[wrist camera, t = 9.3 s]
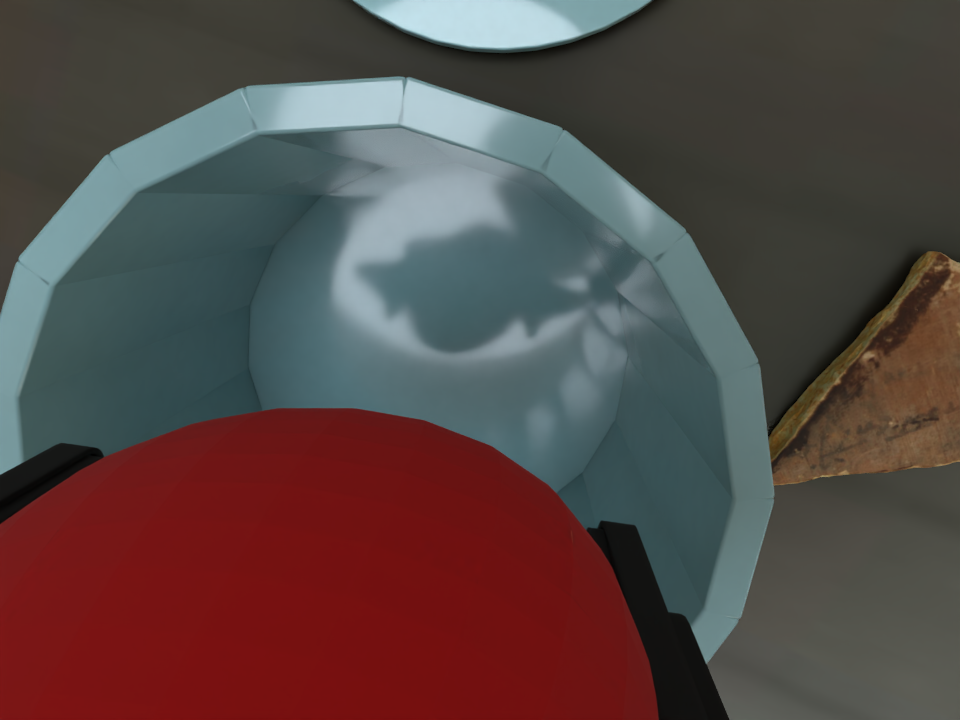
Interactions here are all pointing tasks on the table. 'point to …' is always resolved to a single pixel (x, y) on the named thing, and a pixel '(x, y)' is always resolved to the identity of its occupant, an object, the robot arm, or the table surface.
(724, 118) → the table surface
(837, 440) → the shard
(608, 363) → the pot
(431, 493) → the red rounded piece
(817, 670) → the table surface
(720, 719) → the robot arm
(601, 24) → the lid
